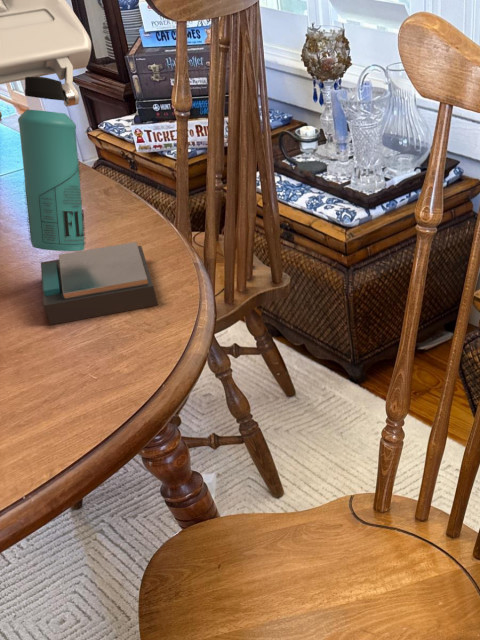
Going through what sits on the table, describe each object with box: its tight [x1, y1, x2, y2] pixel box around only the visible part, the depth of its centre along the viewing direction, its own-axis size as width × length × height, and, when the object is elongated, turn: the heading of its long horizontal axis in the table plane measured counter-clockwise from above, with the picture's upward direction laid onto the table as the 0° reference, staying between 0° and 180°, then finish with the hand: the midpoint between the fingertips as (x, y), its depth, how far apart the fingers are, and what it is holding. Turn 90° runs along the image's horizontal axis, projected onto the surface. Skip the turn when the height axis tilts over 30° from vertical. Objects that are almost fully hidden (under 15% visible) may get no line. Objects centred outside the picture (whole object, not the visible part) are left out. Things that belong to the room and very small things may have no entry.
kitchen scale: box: [40, 241, 159, 326], centre depth 100 cm, size 13×13×3 cm
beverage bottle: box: [17, 76, 87, 252], centre depth 94 cm, size 6×7×20 cm
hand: (35, 110), depth 90 cm, fingers open, 8 cm apart
